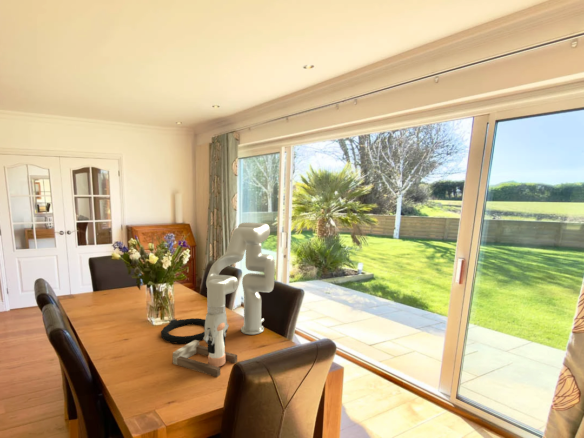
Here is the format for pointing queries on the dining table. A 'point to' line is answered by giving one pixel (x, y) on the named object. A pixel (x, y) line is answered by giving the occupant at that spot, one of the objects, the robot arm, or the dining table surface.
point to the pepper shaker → (218, 349)
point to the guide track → (192, 348)
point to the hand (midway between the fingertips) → (216, 348)
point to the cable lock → (182, 339)
